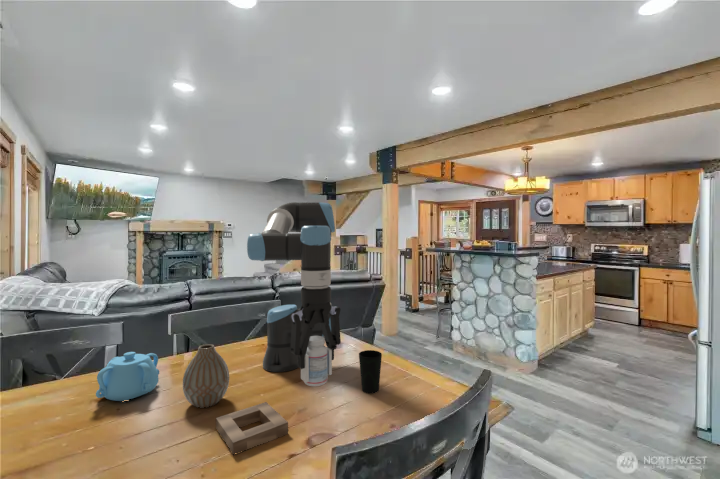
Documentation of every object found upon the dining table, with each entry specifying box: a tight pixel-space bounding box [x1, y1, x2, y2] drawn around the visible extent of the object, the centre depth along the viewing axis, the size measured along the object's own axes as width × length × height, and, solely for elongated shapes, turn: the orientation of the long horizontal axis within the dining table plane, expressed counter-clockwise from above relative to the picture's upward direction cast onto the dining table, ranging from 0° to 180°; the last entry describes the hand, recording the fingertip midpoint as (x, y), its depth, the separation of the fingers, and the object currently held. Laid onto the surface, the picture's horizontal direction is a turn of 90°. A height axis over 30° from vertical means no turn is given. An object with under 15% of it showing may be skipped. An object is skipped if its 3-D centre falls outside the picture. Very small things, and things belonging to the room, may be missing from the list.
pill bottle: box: [303, 336, 329, 387], centre depth 87 cm, size 6×6×11 cm
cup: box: [358, 349, 383, 395], centre depth 113 cm, size 8×8×12 cm
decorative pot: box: [95, 351, 160, 402], centre depth 111 cm, size 16×16×14 cm
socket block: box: [215, 401, 289, 455], centre depth 89 cm, size 14×14×3 cm
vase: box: [182, 343, 230, 409], centre depth 105 cm, size 13×13×18 cm
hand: (316, 376), depth 87 cm, fingers closed on pill bottle, 6 cm apart
